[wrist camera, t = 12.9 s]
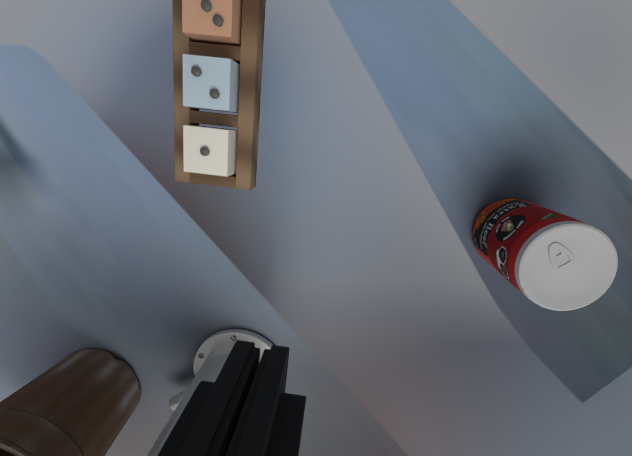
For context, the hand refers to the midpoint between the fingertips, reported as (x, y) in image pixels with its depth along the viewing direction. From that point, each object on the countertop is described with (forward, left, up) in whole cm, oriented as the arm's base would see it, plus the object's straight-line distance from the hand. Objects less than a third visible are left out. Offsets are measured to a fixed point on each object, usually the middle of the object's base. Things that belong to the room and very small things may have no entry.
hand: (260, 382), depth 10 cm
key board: (-2, +16, -29) cm, 33 cm away
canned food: (+16, -14, -29) cm, 36 cm away
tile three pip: (+2, +21, -28) cm, 35 cm away
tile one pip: (-6, +11, -28) cm, 31 cm away
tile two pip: (-3, +16, -28) cm, 33 cm away
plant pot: (-42, -6, -29) cm, 52 cm away
